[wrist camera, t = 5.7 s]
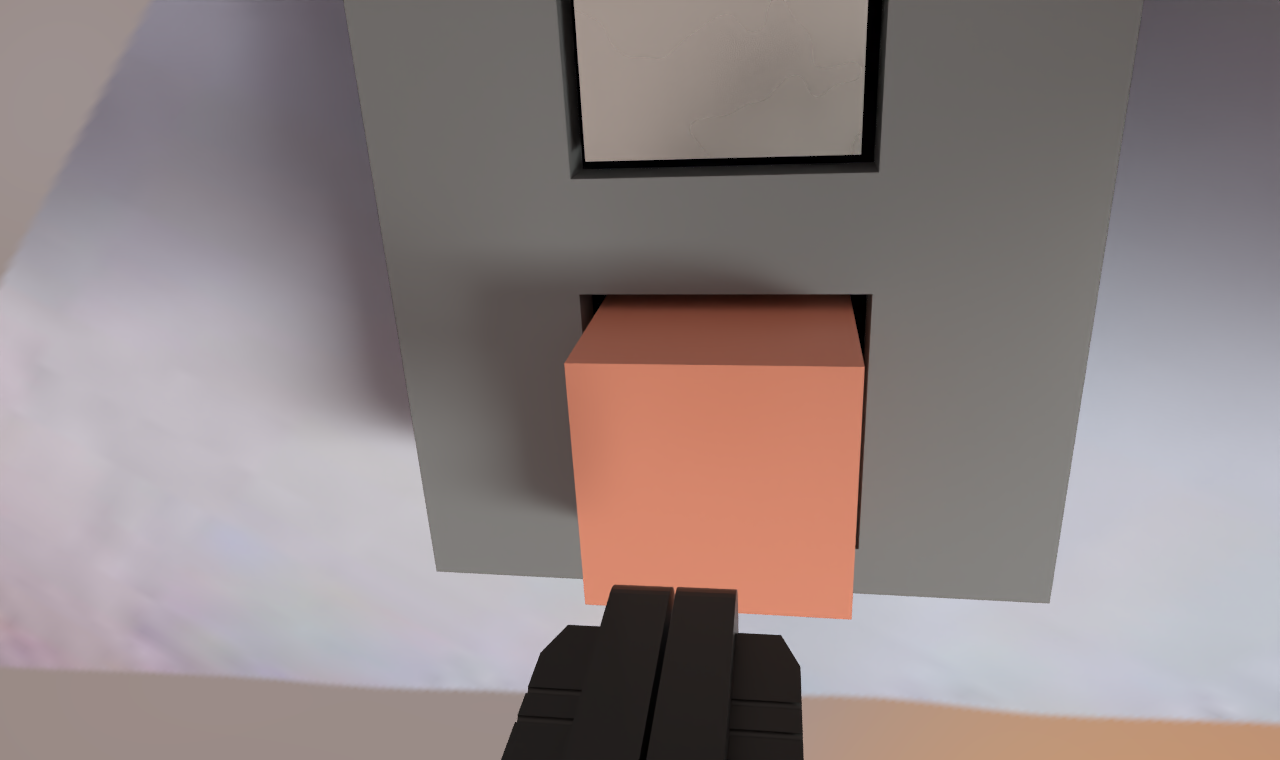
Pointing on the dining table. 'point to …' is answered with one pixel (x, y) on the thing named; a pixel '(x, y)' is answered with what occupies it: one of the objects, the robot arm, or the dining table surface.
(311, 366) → the dining table surface
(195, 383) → the dining table surface
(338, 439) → the dining table surface
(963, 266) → the grey plug holder
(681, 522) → the orange cube
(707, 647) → the robot arm
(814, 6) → the plug
